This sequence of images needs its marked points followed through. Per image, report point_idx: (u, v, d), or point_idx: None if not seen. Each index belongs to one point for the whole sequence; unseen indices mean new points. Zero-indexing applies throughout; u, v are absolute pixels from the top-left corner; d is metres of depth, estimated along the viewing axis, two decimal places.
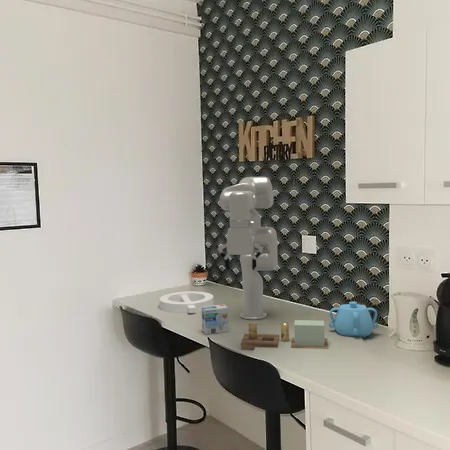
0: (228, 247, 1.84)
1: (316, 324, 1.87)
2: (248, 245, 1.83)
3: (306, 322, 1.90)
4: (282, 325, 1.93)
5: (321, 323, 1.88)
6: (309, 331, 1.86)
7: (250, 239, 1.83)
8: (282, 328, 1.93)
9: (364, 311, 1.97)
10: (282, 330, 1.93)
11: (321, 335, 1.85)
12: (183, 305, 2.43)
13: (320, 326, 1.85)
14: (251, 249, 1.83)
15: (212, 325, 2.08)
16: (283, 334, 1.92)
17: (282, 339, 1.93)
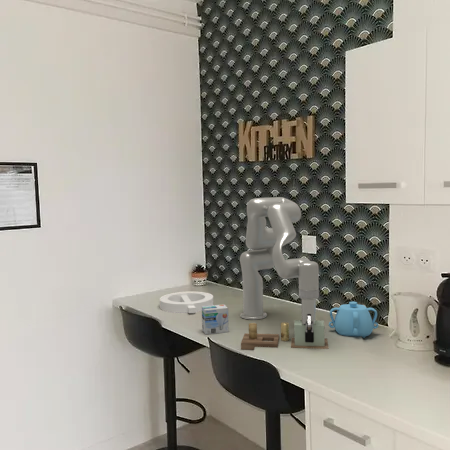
0: (314, 318, 1.84)
1: (316, 324, 1.87)
2: None
3: None
4: (282, 325, 1.93)
5: (321, 323, 1.88)
6: None
7: None
8: (282, 328, 1.93)
9: (364, 311, 1.97)
10: (282, 330, 1.93)
11: (321, 335, 1.85)
12: (183, 305, 2.43)
13: (320, 326, 1.85)
14: None
15: (212, 325, 2.08)
16: (283, 334, 1.92)
17: (282, 339, 1.93)
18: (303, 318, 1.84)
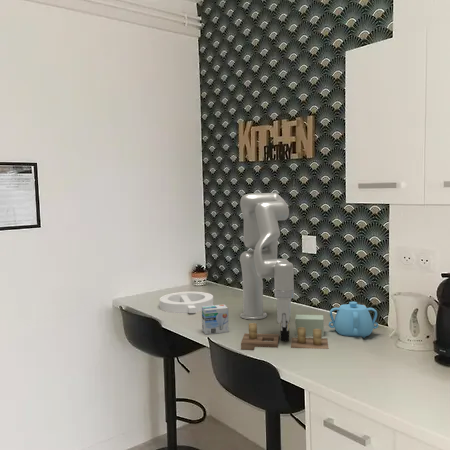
0: (289, 317, 1.89)
1: (316, 318, 1.99)
2: None
3: (306, 316, 2.02)
4: (282, 325, 1.93)
5: (320, 317, 2.00)
6: (309, 325, 1.98)
7: None
8: None
9: (364, 311, 1.97)
10: None
11: (320, 328, 1.97)
12: (183, 305, 2.43)
13: (319, 320, 1.97)
14: None
15: (212, 325, 2.08)
16: None
17: None
18: (278, 317, 1.89)
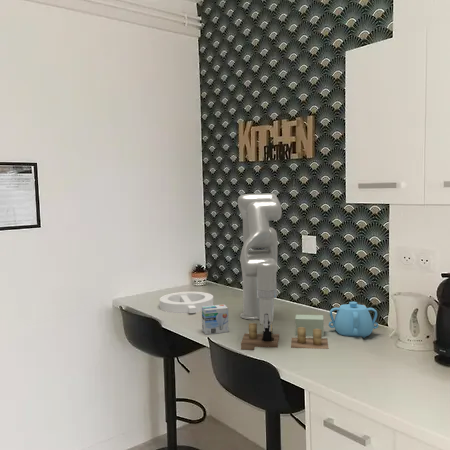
0: (271, 317, 1.86)
1: (316, 318, 1.99)
2: None
3: (306, 316, 2.02)
4: None
5: (320, 317, 2.00)
6: (309, 325, 1.98)
7: None
8: None
9: (364, 311, 1.97)
10: None
11: (320, 328, 1.97)
12: (183, 305, 2.43)
13: (319, 320, 1.97)
14: None
15: (212, 325, 2.08)
16: None
17: None
18: (260, 318, 1.86)
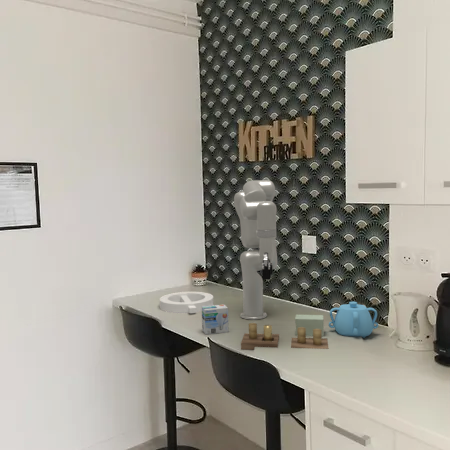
0: (271, 256, 1.89)
1: (316, 318, 1.99)
2: None
3: (306, 316, 2.02)
4: (265, 328, 1.90)
5: (320, 317, 2.00)
6: (309, 325, 1.98)
7: None
8: (265, 331, 1.90)
9: (364, 311, 1.97)
10: (265, 333, 1.90)
11: (320, 328, 1.97)
12: (183, 305, 2.43)
13: (319, 320, 1.97)
14: None
15: (212, 325, 2.08)
16: (266, 336, 1.90)
17: None
18: (260, 257, 1.89)
